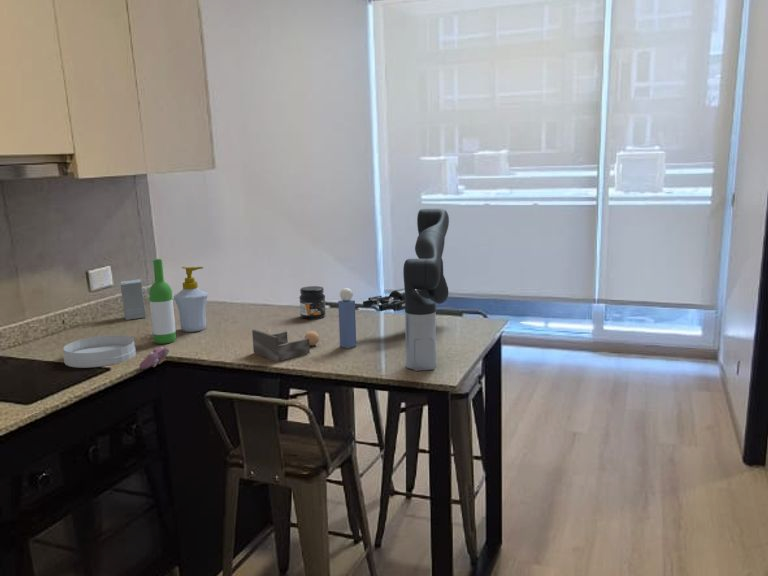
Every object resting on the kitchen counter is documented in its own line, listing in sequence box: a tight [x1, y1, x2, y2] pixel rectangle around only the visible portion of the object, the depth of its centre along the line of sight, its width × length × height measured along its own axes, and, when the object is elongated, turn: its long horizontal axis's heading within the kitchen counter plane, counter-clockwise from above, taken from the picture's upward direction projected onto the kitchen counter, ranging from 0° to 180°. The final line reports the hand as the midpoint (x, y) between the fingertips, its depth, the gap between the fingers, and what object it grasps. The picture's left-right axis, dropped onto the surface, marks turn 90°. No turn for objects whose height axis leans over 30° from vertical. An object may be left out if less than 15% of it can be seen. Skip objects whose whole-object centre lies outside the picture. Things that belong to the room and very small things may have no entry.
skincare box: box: [119, 279, 147, 321], centre depth 269 cm, size 8×7×16 cm
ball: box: [304, 330, 320, 347], centre depth 222 cm, size 5×5×5 cm
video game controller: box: [139, 346, 170, 370], centre depth 204 cm, size 10×5×7 cm, turn 169°
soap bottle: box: [173, 266, 209, 333], centre depth 246 cm, size 13×13×25 cm
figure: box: [337, 287, 357, 349], centre depth 218 cm, size 4×4×20 cm
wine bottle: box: [148, 258, 177, 345], centre depth 229 cm, size 8×8×30 cm
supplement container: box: [298, 285, 327, 320], centre depth 263 cm, size 10×10×12 cm
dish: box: [62, 334, 137, 369], centre depth 214 cm, size 22×22×5 cm
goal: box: [251, 329, 311, 363], centre depth 213 cm, size 13×14×8 cm
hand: (371, 306), depth 225 cm, fingers open, 8 cm apart
